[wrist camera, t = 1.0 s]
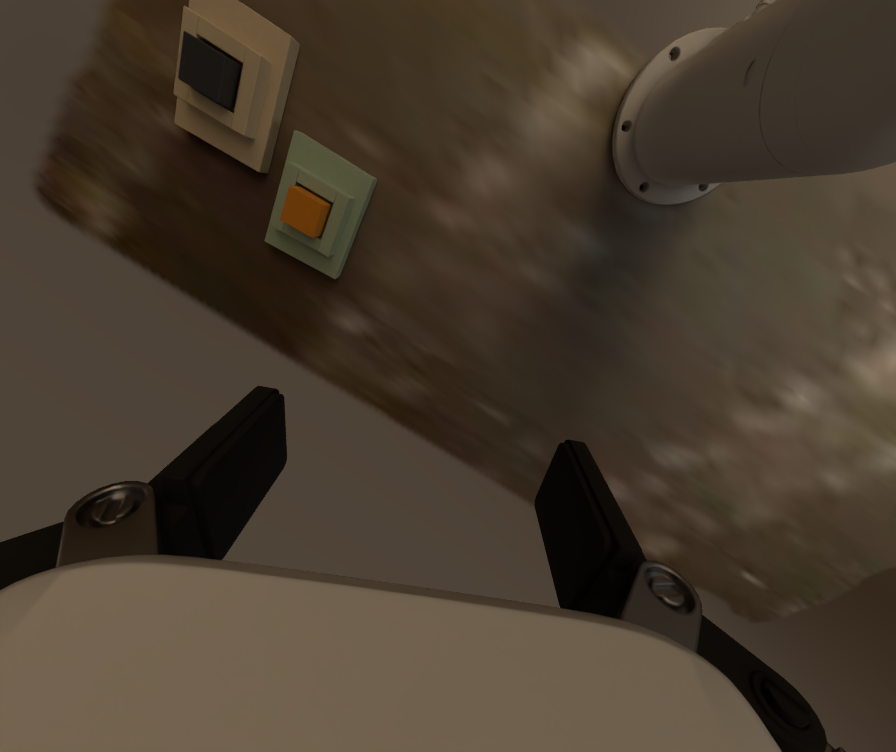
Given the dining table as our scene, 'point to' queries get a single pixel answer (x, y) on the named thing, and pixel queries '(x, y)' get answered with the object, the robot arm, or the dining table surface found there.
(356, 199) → the key block
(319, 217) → the key
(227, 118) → the key block
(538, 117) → the dining table surface
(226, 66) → the key
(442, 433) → the dining table surface
